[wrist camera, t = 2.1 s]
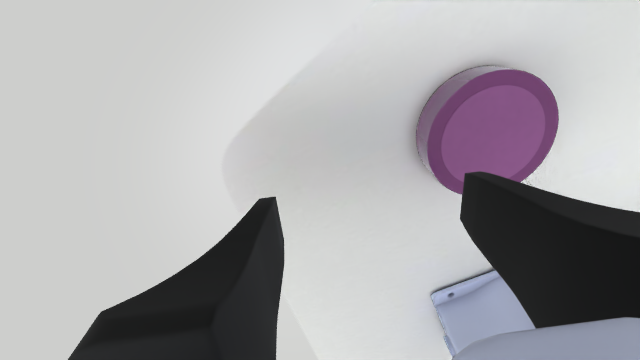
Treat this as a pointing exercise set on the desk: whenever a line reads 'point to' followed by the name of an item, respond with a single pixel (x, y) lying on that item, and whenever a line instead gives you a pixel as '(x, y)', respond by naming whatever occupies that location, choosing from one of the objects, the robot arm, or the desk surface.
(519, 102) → the plum dish
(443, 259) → the desk surface
